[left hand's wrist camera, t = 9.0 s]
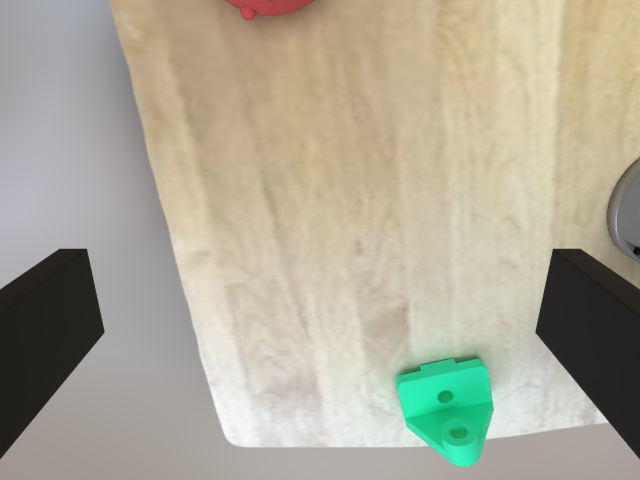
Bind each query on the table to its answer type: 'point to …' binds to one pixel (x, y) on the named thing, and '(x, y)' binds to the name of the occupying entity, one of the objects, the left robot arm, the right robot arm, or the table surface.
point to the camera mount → (449, 407)
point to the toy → (267, 7)
